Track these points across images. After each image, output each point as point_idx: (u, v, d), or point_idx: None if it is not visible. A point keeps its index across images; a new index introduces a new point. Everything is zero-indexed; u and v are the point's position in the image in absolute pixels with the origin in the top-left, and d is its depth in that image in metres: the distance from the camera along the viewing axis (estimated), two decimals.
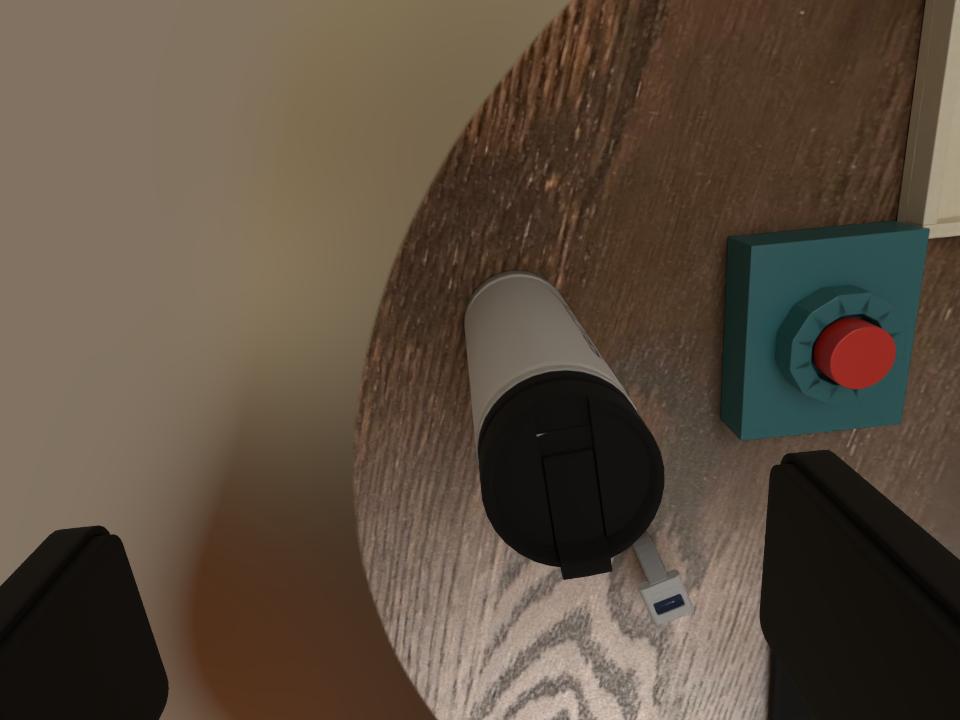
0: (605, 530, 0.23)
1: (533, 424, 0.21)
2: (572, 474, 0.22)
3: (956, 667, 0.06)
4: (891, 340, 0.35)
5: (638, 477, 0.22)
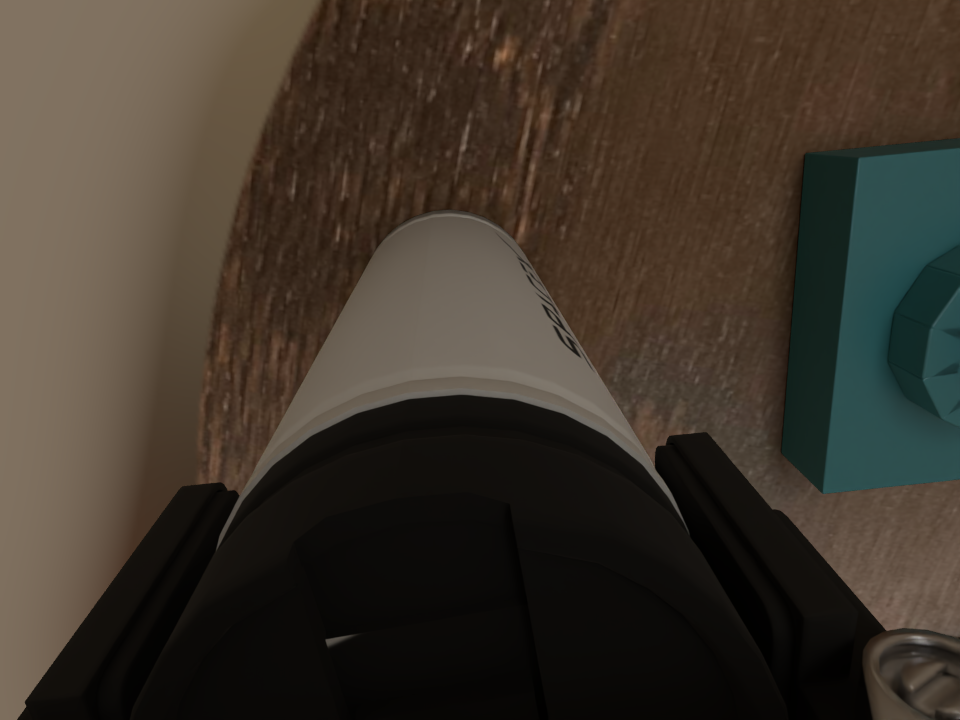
0: None
1: (301, 612, 0.05)
2: None
3: (761, 615, 0.06)
4: None
5: None
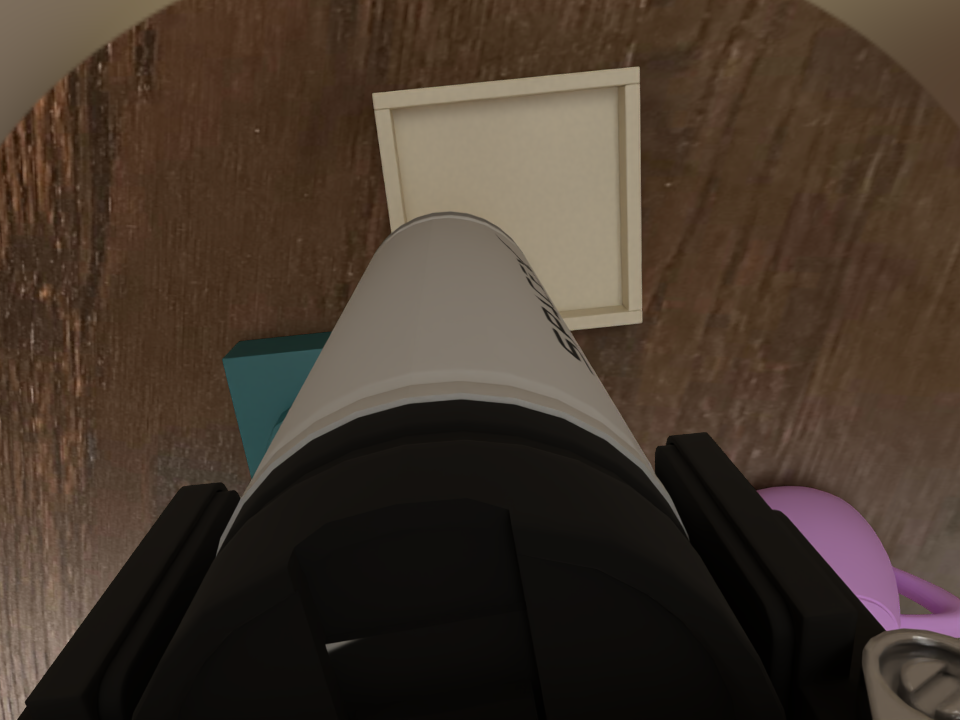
0: None
1: (301, 618, 0.06)
2: None
3: (761, 615, 0.06)
4: None
5: None
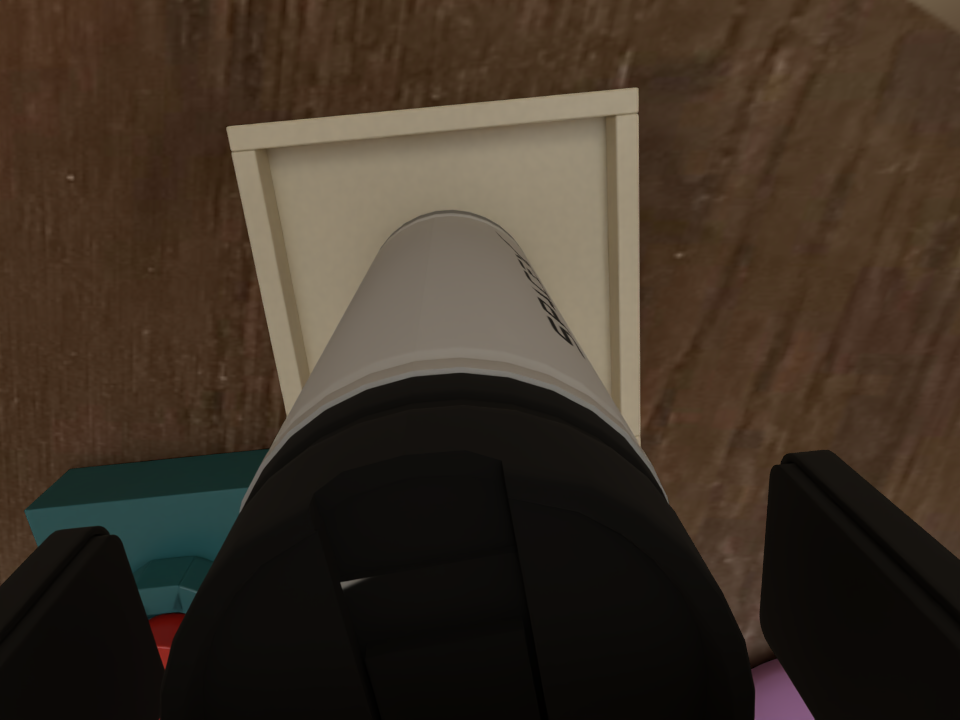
0: None
1: (320, 555, 0.06)
2: (464, 703, 0.07)
3: (956, 667, 0.06)
4: None
5: (670, 707, 0.07)
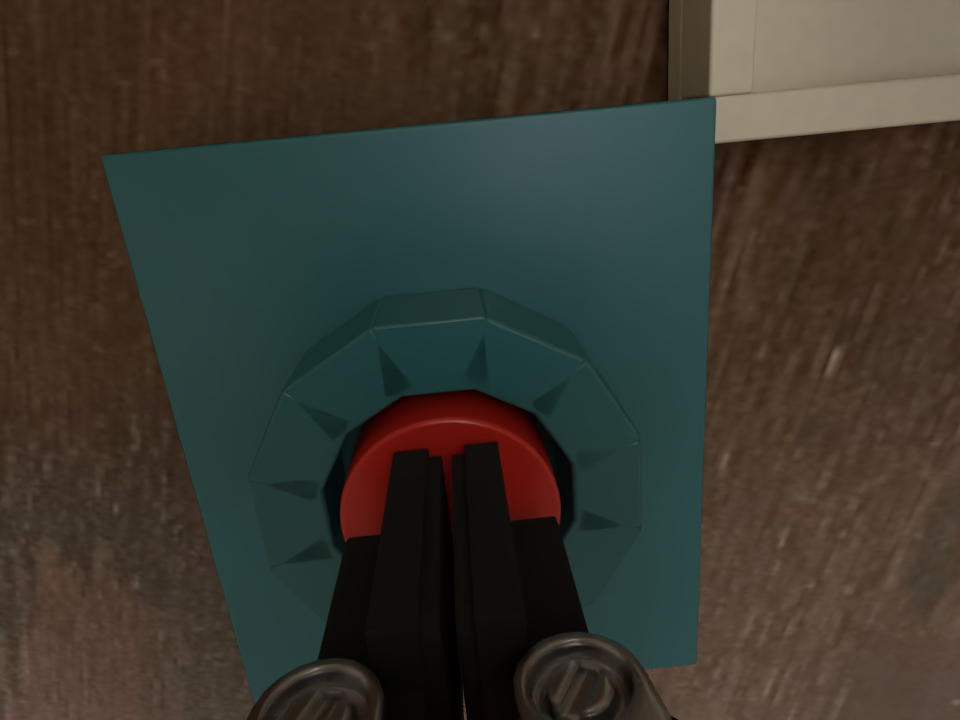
0: None
1: None
2: None
3: None
4: (535, 462, 0.10)
5: None
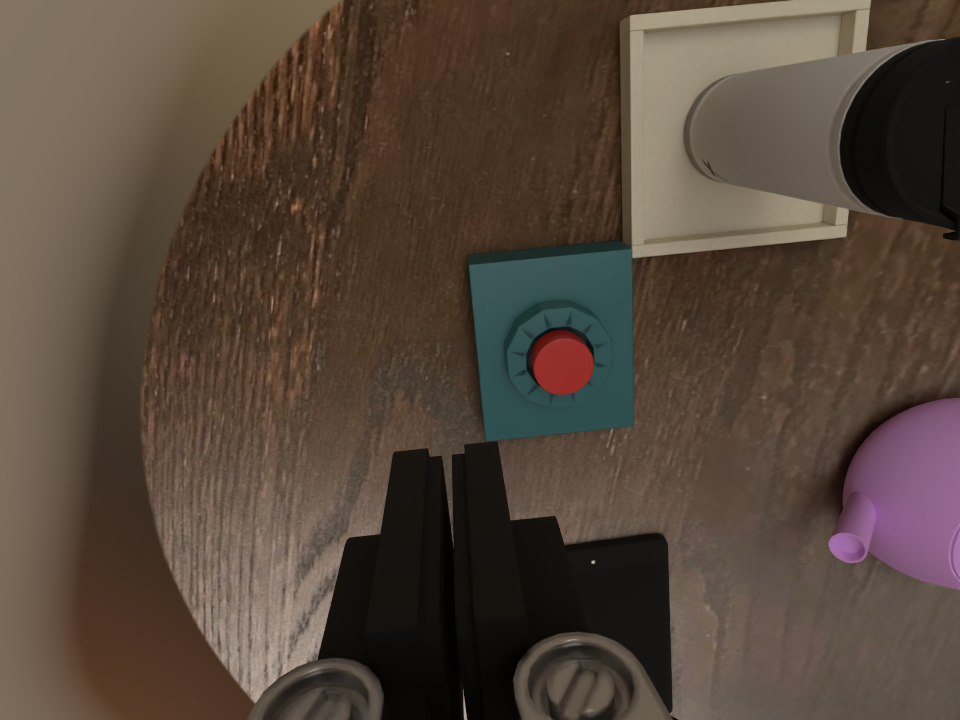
0: None
1: (945, 66, 0.21)
2: None
3: None
4: (587, 350, 0.38)
5: None
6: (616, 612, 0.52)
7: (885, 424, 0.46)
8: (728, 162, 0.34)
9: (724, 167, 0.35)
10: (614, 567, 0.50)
